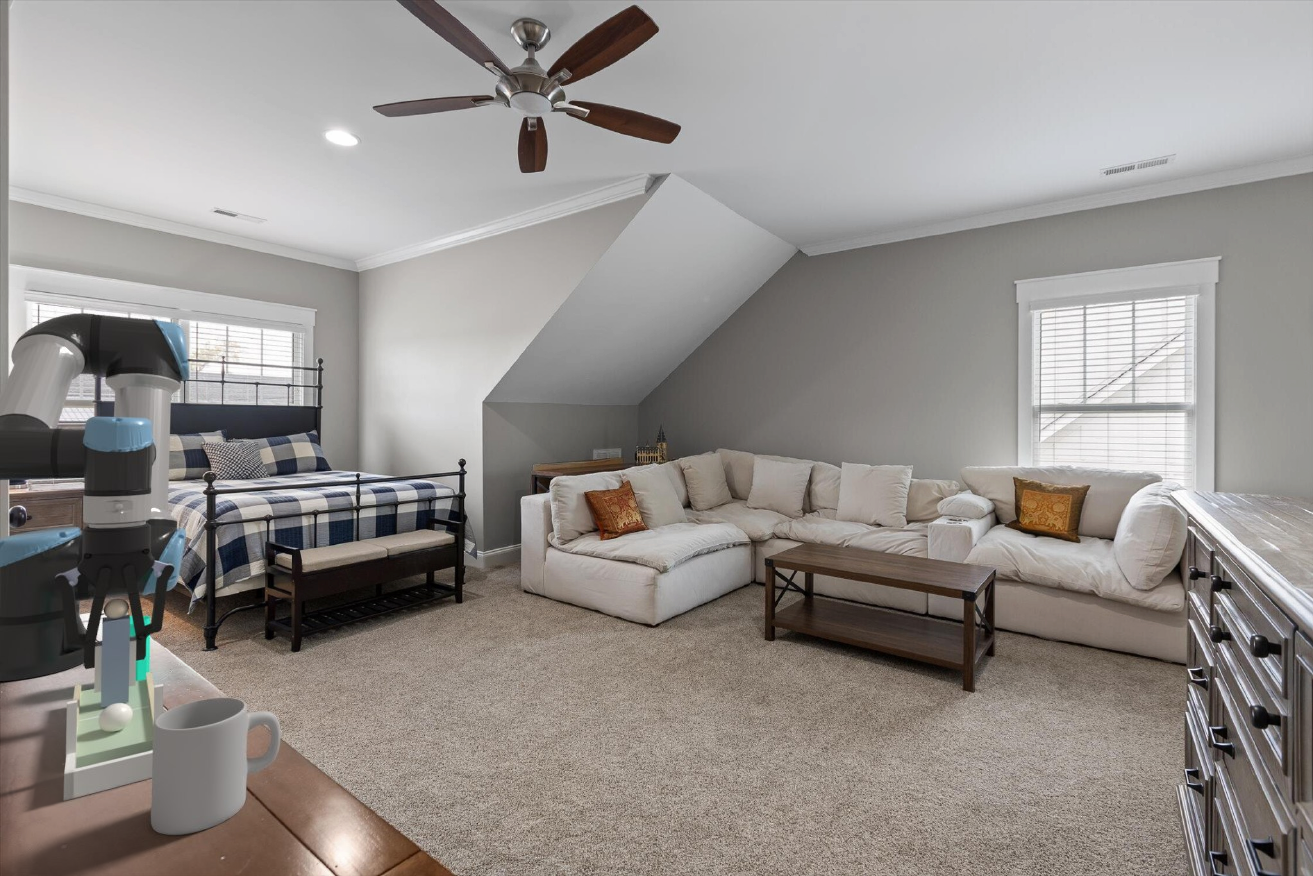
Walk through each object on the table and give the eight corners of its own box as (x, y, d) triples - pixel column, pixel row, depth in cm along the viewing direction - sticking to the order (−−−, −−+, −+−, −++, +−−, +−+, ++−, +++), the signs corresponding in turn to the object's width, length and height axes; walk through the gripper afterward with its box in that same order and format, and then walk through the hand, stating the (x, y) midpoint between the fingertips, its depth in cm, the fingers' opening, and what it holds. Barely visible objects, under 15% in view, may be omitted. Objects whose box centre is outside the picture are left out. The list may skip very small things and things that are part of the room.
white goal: (66, 776, 77) (67, 701, 77) (161, 753, 83) (163, 683, 82) (63, 801, 72) (64, 721, 72) (165, 774, 78) (166, 700, 78)
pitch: (74, 705, 96) (75, 685, 96) (151, 690, 101) (151, 672, 101) (66, 776, 77) (66, 751, 77) (161, 753, 83) (161, 730, 82)
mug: (156, 847, 64) (158, 738, 64) (145, 810, 70) (147, 711, 70) (289, 801, 73) (291, 705, 73) (269, 771, 79) (271, 683, 79)
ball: (98, 729, 84) (98, 703, 84) (132, 722, 87) (132, 696, 87) (97, 739, 82) (98, 712, 82) (133, 731, 84) (133, 705, 84)
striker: (101, 700, 92) (102, 598, 92) (128, 695, 94) (129, 595, 94) (101, 707, 90) (102, 603, 90) (128, 702, 92) (130, 599, 92)
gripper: (37, 531, 84) (35, 709, 84) (189, 522, 94) (186, 681, 95) (42, 524, 90) (39, 691, 90) (184, 516, 100) (182, 666, 100)
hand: (115, 685), depth 92 cm, fingers closed on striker, 3 cm apart
